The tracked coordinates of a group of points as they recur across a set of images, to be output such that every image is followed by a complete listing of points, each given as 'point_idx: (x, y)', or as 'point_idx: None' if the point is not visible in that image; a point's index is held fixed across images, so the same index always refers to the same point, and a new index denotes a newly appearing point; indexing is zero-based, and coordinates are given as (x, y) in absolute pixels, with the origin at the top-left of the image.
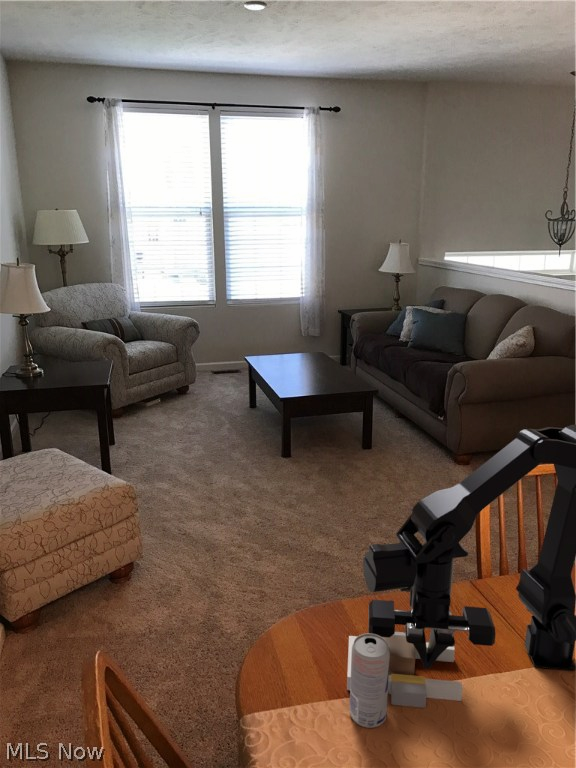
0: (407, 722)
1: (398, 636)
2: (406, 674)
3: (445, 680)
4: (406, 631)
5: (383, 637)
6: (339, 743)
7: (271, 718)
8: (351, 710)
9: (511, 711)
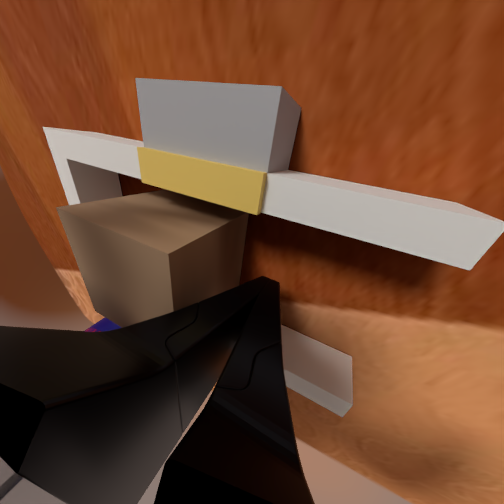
0: None
1: (112, 237)
2: None
3: (297, 377)
4: (14, 425)
5: (69, 233)
6: None
7: (73, 282)
8: None
9: (489, 455)
